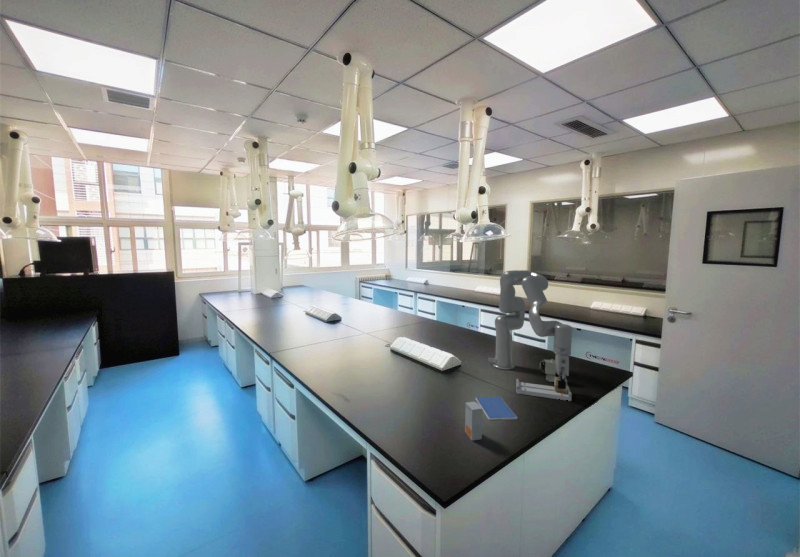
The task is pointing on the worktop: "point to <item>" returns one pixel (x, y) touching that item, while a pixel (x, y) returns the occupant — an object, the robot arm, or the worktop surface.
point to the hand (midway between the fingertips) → (560, 384)
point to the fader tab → (557, 386)
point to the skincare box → (473, 420)
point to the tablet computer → (495, 408)
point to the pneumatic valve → (548, 369)
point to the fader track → (541, 391)
